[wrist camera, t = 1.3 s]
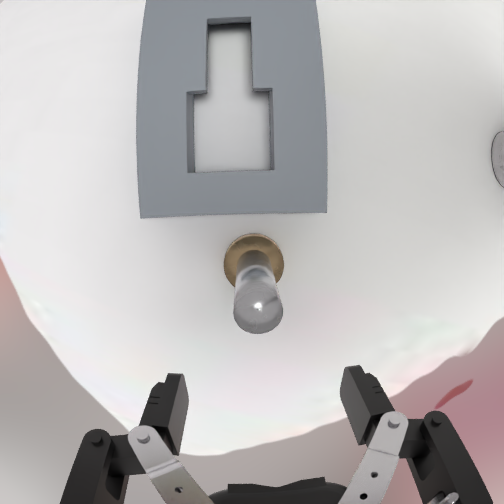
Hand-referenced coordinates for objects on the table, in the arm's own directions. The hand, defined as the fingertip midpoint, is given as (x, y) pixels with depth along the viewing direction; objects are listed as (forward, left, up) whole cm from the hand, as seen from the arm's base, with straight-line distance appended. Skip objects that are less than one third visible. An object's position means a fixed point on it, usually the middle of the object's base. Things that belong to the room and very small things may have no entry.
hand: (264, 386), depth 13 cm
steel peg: (0, 0, -20) cm, 20 cm away
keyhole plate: (+2, -19, -20) cm, 28 cm away
